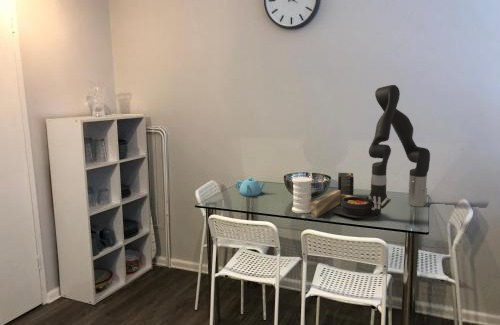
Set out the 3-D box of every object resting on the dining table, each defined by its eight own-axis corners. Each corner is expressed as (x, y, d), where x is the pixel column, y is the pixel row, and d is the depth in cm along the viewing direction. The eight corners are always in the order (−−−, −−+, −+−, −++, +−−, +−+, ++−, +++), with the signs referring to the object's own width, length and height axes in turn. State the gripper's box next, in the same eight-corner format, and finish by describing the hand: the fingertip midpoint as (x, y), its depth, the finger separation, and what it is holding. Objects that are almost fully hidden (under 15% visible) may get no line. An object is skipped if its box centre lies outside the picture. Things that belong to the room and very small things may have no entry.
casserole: (382, 212, 225) (383, 197, 224) (378, 223, 209) (379, 207, 207) (337, 207, 235) (337, 193, 234) (329, 218, 219) (329, 202, 217)
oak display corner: (367, 206, 236) (367, 193, 235) (343, 223, 211) (343, 208, 209) (337, 201, 247) (337, 188, 246) (311, 216, 222) (311, 202, 220)
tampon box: (353, 200, 249) (354, 176, 246) (337, 199, 251) (338, 176, 248) (352, 195, 259) (353, 172, 257) (337, 194, 261) (338, 172, 258)
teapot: (252, 189, 279) (252, 174, 277) (267, 194, 268) (266, 177, 266) (234, 193, 270) (233, 177, 268) (248, 198, 259) (247, 181, 256)
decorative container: (308, 206, 240) (308, 176, 236) (315, 212, 228) (315, 180, 225) (289, 208, 237) (289, 177, 234) (295, 214, 226) (295, 182, 222)
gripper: (394, 182, 211) (392, 215, 214) (368, 179, 218) (367, 211, 222) (389, 186, 205) (388, 219, 208) (363, 182, 212) (362, 215, 216)
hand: (377, 215), depth 215 cm, fingers closed
